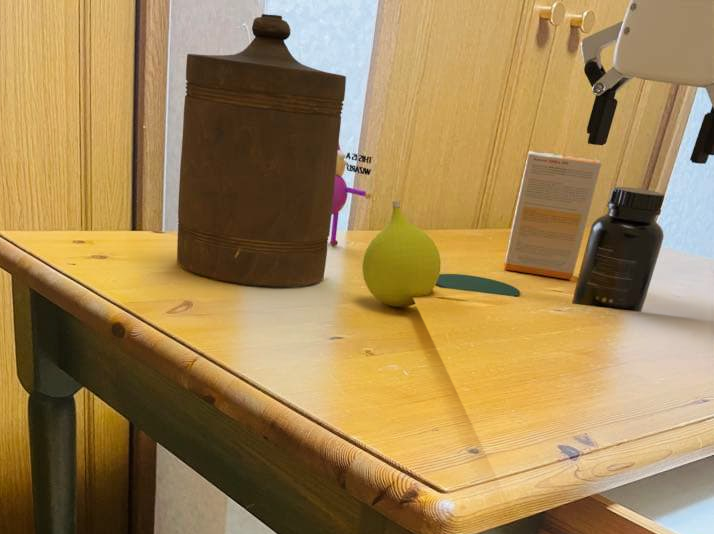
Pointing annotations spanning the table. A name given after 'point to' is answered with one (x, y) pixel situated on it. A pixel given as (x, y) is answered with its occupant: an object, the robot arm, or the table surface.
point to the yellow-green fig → (401, 262)
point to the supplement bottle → (621, 252)
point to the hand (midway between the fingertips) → (645, 153)
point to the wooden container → (258, 163)
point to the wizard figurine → (344, 188)
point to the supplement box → (551, 214)
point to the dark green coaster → (476, 284)
